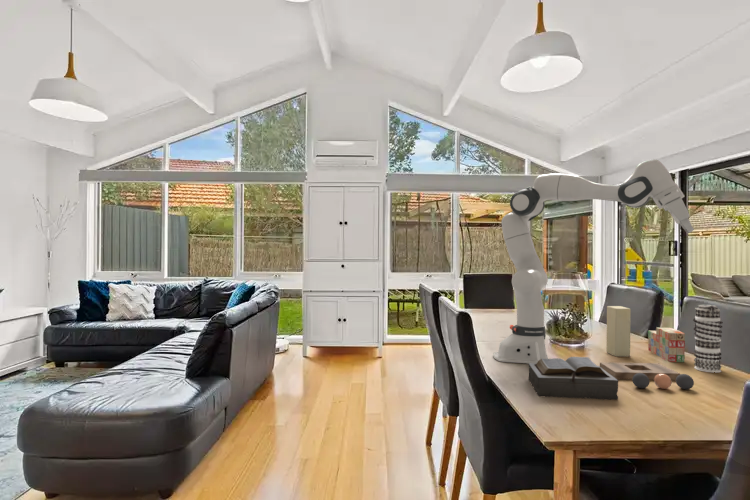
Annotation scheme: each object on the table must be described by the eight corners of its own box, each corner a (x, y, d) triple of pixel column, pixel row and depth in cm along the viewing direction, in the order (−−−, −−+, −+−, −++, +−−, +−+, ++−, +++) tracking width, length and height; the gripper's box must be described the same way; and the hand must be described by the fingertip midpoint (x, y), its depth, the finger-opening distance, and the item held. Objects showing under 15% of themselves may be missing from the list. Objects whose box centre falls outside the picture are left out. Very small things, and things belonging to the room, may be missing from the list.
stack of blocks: (647, 350, 208) (647, 323, 208) (662, 350, 206) (662, 324, 206) (668, 361, 187) (668, 332, 187) (685, 362, 185) (685, 332, 185)
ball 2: (681, 391, 148) (681, 376, 148) (672, 386, 153) (672, 371, 153) (697, 391, 148) (697, 376, 148) (688, 386, 153) (688, 372, 153)
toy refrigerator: (632, 356, 195) (632, 308, 195) (615, 356, 195) (615, 308, 195) (622, 352, 203) (622, 306, 203) (606, 352, 203) (606, 306, 203)
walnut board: (615, 379, 162) (615, 372, 162) (599, 368, 176) (599, 362, 176) (679, 380, 160) (679, 373, 160) (658, 369, 174) (658, 363, 174)
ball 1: (636, 390, 149) (636, 375, 149) (629, 385, 154) (629, 371, 154) (652, 390, 149) (652, 375, 149) (644, 385, 154) (644, 371, 154)
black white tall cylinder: (713, 374, 168) (713, 307, 168) (687, 367, 177) (687, 304, 176) (728, 371, 172) (728, 306, 172) (702, 365, 180) (702, 303, 180)
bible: (621, 406, 135) (621, 373, 135) (526, 396, 145) (526, 365, 145) (610, 384, 157) (610, 356, 157) (528, 376, 167) (528, 350, 167)
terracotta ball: (658, 390, 149) (658, 375, 149) (651, 386, 154) (651, 371, 154) (674, 391, 148) (674, 376, 148) (666, 386, 153) (666, 371, 153)
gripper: (660, 205, 174) (680, 237, 170) (660, 200, 156) (682, 235, 153) (677, 197, 171) (698, 229, 167) (679, 190, 153) (702, 226, 150)
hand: (690, 232), depth 160 cm, fingers open, 8 cm apart
